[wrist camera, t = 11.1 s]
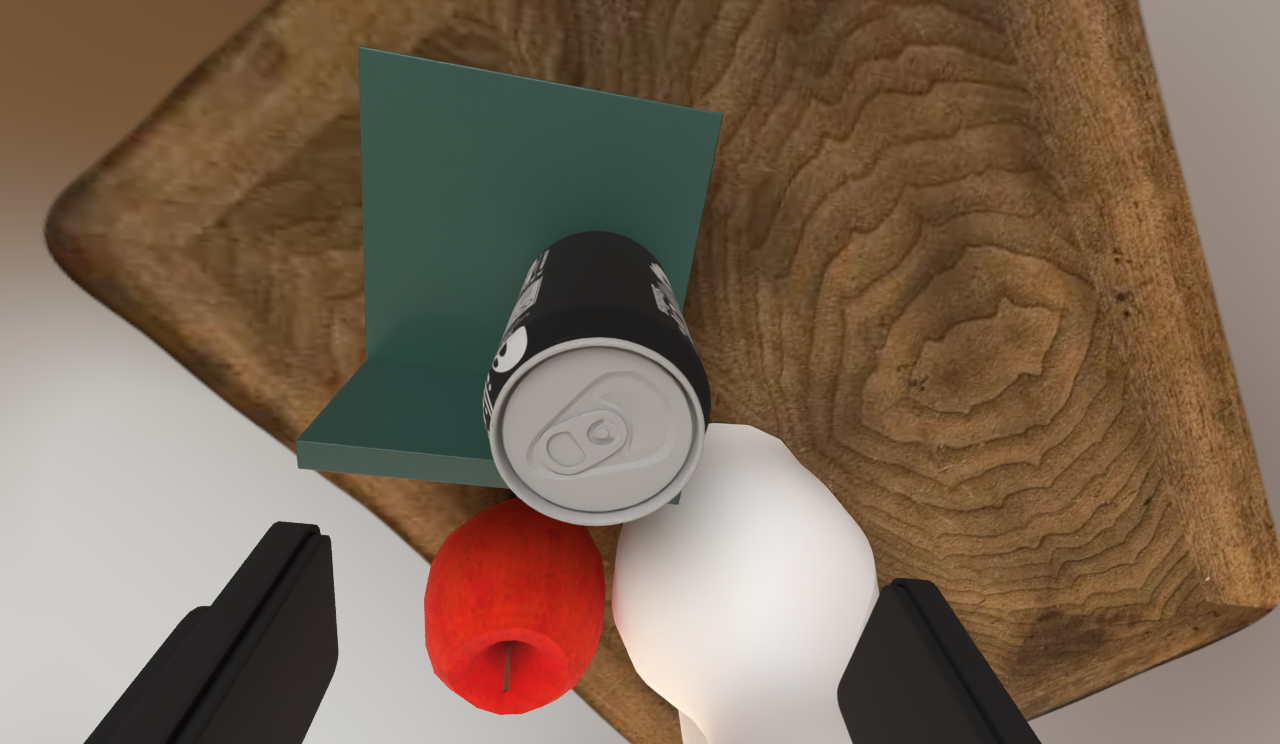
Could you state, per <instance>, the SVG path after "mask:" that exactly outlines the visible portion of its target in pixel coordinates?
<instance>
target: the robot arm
mask: <svg viewBox="0 0 1280 744" xmlns="http://www.w3.org/2000/svg"><path fill="white" fill-rule="evenodd" d="M337 661H338V637H337V624H336V608H335V593H334V579H333V564H332V551H331V539H330V537H329V536H328V535H321V534H320V529H319V527H318V525H313V524H303V523H292V522H281V521H278V522H276V523H274V524H273V525H272V526H271V527H270V528H269V530H268V531H267V532H266V534H265V535H264V536H263V538H262V539H261V540H260V542H259V543H258V545H257V546H256V547H255V548H254V550H253V551H252V552H251V554H250V555H249V556H248V558H247V559H246V560H245V561H244V563H243V564H242V565H241V567H240V568H239V569H238V571H237V572H236V573H235V575H234V576H233V577H232V579H231V580H230V581H229V582H228V584H227V585H226V587H225V588H224V589H223V590H222V592H221V593H220V594H219V596H218V597H217V598H216V600H215V601H214V602H213V604H212V605H211V606H201V607H197V608H195V609H194V610H192V611H190V612H189V613H188V614H187V615H186V616H185V617H184V619H182V621H181V622H180V623H179V624H178V625H177V627H176V628H175V629H174V630H173V632H172V633H171V634H170V636H169V637H168V638H167V639H166V640H165V642H164V643H163V644H162V645H161V647H160V648H159V649H158V650H157V652H156V653H155V654H154V655H153V657H152V658H151V659H150V661H149V662H148V663H147V664H146V666H145V667H144V668H143V669H142V671H141V672H140V673H139V674H138V676H137V677H136V678H135V680H134V681H133V682H132V683H131V684H130V686H129V687H128V688H127V689H126V691H125V692H124V693H123V695H122V696H121V697H120V699H119V700H118V701H117V702H116V703H115V705H114V706H113V707H112V708H111V710H110V711H109V712H108V714H107V715H106V716H105V717H104V719H103V720H102V721H101V722H100V724H99V725H98V726H97V727H96V729H95V730H94V731H93V733H92V734H91V735H90V736H89V737H88V739H87V740H86V741H85V742H84V744H302V742H303V740H304V738H305V735H306V733H307V731H308V729H309V727H310V725H311V723H312V720H313V718H314V716H315V714H316V712H317V710H318V708H319V705H320V703H321V701H322V699H323V697H324V694H325V692H326V690H327V688H328V686H329V684H330V681H331V679H332V677H333V675H334V672H335V669H336V665H337ZM837 701H838V706H839V709H840V712H841V714H842V717H843V720H844V722H845V725H846V728H847V730H848V733H849V736H850V738H851V741H852V743H853V744H1041V742H1040V741H1039V739H1038V738H1037V736H1036V735H1035V733H1034V732H1033V730H1032V729H1031V727H1030V726H1029V724H1028V723H1027V721H1026V720H1025V718H1024V717H1023V715H1022V714H1021V712H1020V711H1019V709H1018V708H1017V706H1016V705H1015V703H1014V702H1013V700H1012V699H1011V697H1010V696H1009V694H1008V693H1007V691H1006V690H1005V688H1004V687H1003V685H1002V684H1001V682H1000V681H999V679H998V678H997V676H996V675H995V673H994V672H993V670H992V669H991V667H990V666H989V664H988V663H987V661H986V660H985V658H984V657H983V655H982V654H981V652H980V651H979V649H978V648H977V646H976V645H975V643H974V642H973V640H972V639H971V637H970V636H969V634H968V633H967V631H966V630H965V628H964V627H963V625H962V624H961V622H960V621H959V619H958V618H957V616H956V615H955V613H954V612H953V610H952V609H951V607H950V606H949V604H948V603H947V601H946V600H945V598H944V597H943V595H942V594H941V592H940V591H939V589H938V588H937V587H936V586H935V584H934V583H932V582H931V581H929V580H918V579H907V578H896V579H894V580H893V581H892V582H891V584H890V585H886V586H885V587H884V588H883V589H882V591H881V593H880V595H879V597H878V599H877V602H876V604H875V606H874V608H873V610H872V612H871V615H870V617H869V619H868V621H867V623H866V626H865V628H864V630H863V632H862V634H861V636H860V639H859V641H858V643H857V645H856V647H855V650H854V652H853V654H852V656H851V658H850V660H849V663H848V665H847V667H846V669H845V671H844V674H843V676H842V678H841V680H840V682H839V685H838V688H837Z"/></svg>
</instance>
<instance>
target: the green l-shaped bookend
mask: <svg viewBox="0 0 1280 744" xmlns="http://www.w3.org/2000/svg"><path fill="white" fill-rule="evenodd" d="M359 80H360V122H361V163H362V204H363V245H364V286H365V327H366V361H365V363H364V364H363V365H362V366H361V367H360V368H359V369H358V371H357V372H356V373H355V374H354V375H353V376H352V377H351V379H350V380H349V381H348V382H347V383H346V384H345V385H344V387H343V388H342V389H341V390H340V391H339V392H338V393H337V395H336V396H335V397H334V398H333V399H332V400H331V401H330V403H329V404H328V405H327V406H326V407H325V408H324V409H323V410H322V412H321V413H320V414H319V415H318V416H317V417H316V418H315V420H314V421H313V422H312V423H311V424H310V425H309V426H308V428H307V429H306V430H305V431H304V432H303V433H302V434H301V436H300V437H299V438H298V439H297V440H296V449H297V461H298V468H300V469H309V470H319V471H330V472H340V473H351V474H361V475H371V476H382V477H392V478H403V479H413V480H424V481H434V482H444V483H455V484H465V485H476V486H486V487H497V488H507V489H510V488H509V487H508V486H507V484H506V483H505V481H504V480H503V478H502V477H501V475H500V473H499V471H498V469H497V467H496V464H495V462H494V459H493V456H492V451H491V446H490V439H489V437H488V434H487V430H486V426H485V422H484V416H483V394H484V387H485V383H486V379H487V376H488V373H489V371H490V368H491V366H492V363H493V360H494V358H495V355H496V353H497V350H498V348H499V345H500V342H501V340H502V337H503V335H504V332H505V330H506V327H507V324H508V322H509V319H510V317H511V314H512V312H513V309H514V307H515V304H516V301H517V299H518V296H519V294H520V291H521V289H522V286H523V283H524V281H525V278H526V276H527V274H528V271H529V270H530V268H531V266H532V265H533V263H534V262H535V260H536V259H537V258H538V257H539V255H540V254H541V253H542V252H543V251H545V250H546V249H547V248H548V247H549V246H551V245H552V244H554V243H555V242H557V241H559V240H561V239H563V238H565V237H567V236H570V235H573V234H576V233H581V232H587V231H606V232H612V233H616V234H620V235H623V236H625V237H628V238H630V239H632V240H634V241H636V242H637V243H639V244H640V245H642V246H643V247H645V248H646V249H647V250H648V251H649V252H650V253H651V254H652V255H653V256H654V257H655V258H656V259H657V260H658V262H659V263H660V265H661V266H662V268H663V270H664V271H665V273H666V276H667V278H668V280H669V283H670V285H671V288H672V290H673V293H674V295H675V298H676V300H677V303H678V305H679V308H680V310H681V313H682V312H683V307H684V302H685V297H686V292H687V288H688V283H689V278H690V273H691V268H692V263H693V259H694V254H695V249H696V244H697V239H698V234H699V230H700V225H701V220H702V215H703V210H704V205H705V201H706V196H707V191H708V186H709V181H710V176H711V172H712V167H713V162H714V157H715V152H716V148H717V143H718V138H719V133H720V128H721V123H722V119H723V114H722V113H717V112H711V111H706V110H701V109H695V108H690V107H684V106H679V105H674V104H668V103H663V102H658V101H652V100H647V99H641V98H636V97H631V96H625V95H620V94H615V93H609V92H604V91H598V90H593V89H588V88H582V87H577V86H572V85H566V84H561V83H555V82H550V81H545V80H539V79H534V78H529V77H523V76H518V75H512V74H507V73H502V72H496V71H491V70H485V69H480V68H475V67H469V66H464V65H459V64H453V63H448V62H442V61H437V60H432V59H426V58H421V57H416V56H410V55H405V54H399V53H394V52H389V51H383V50H378V49H373V48H367V47H362V46H360V47H359ZM681 492H682V490H681V491H680V492H679V493H678V494H677V495H676V496H675V497H674V498H673V499H672V500H670V501H669V502H668V503H666V504H674V505H678V504H679V500H680V496H681Z"/></svg>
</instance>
